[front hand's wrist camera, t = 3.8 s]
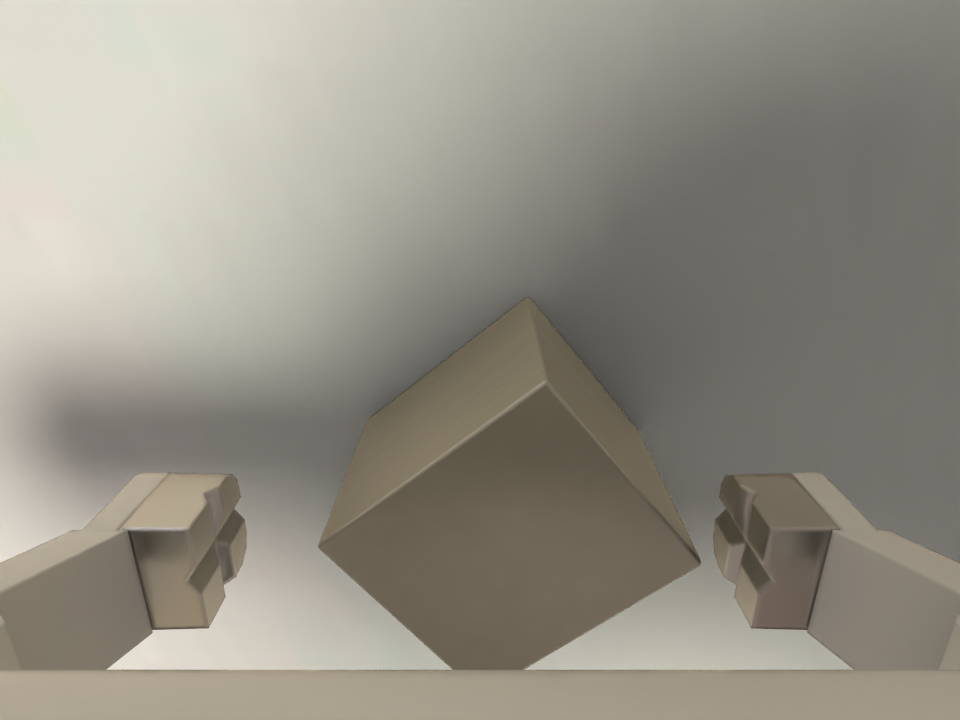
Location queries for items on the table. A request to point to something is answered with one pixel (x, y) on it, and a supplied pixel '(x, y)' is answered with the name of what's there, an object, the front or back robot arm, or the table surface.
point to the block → (506, 503)
